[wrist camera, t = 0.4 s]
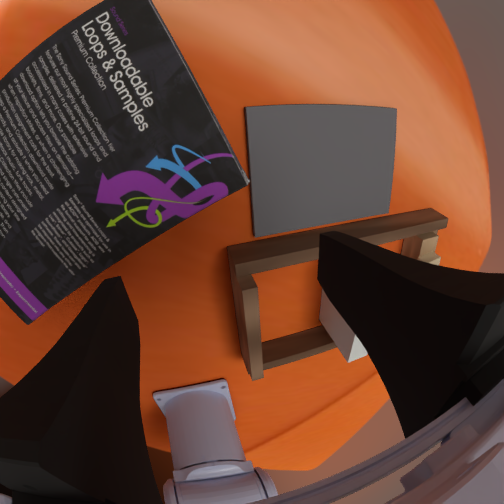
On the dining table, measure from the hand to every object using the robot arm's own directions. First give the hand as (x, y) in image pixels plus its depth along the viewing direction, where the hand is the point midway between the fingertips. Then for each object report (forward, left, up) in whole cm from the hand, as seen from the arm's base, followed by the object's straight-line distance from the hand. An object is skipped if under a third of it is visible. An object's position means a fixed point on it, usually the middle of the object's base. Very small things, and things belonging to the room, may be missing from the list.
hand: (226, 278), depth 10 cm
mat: (+1, -10, -10) cm, 14 cm away
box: (+4, +8, -11) cm, 14 cm away
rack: (-10, -11, -10) cm, 18 cm away
